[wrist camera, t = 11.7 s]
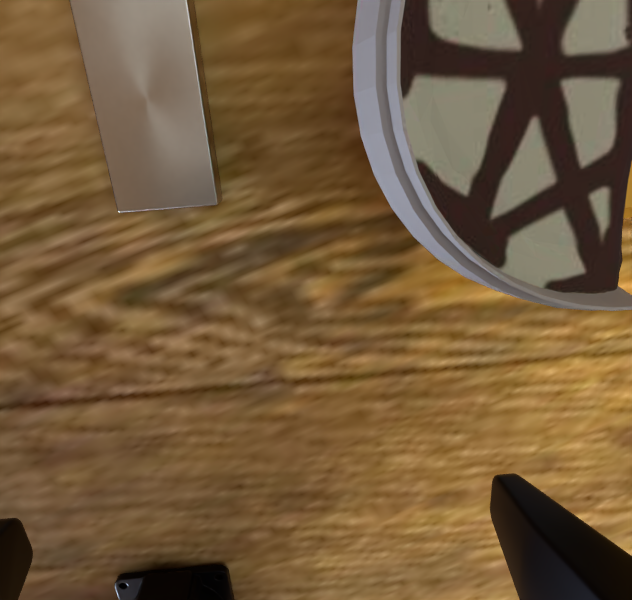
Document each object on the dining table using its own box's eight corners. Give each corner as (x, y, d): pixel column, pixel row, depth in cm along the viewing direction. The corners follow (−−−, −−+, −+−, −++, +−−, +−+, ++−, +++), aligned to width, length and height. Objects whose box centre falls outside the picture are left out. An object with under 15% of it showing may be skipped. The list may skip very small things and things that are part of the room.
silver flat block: (222, 200, 19) (218, 205, 18) (127, 208, 19) (117, 213, 18) (190, -25, 16) (182, -36, 15) (78, -17, 16) (62, -27, 15)
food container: (307, -87, 16) (325, -382, 7) (483, -113, 16) (752, -447, 7) (346, 253, 20) (390, 364, 11) (483, 234, 20) (643, 329, 11)
